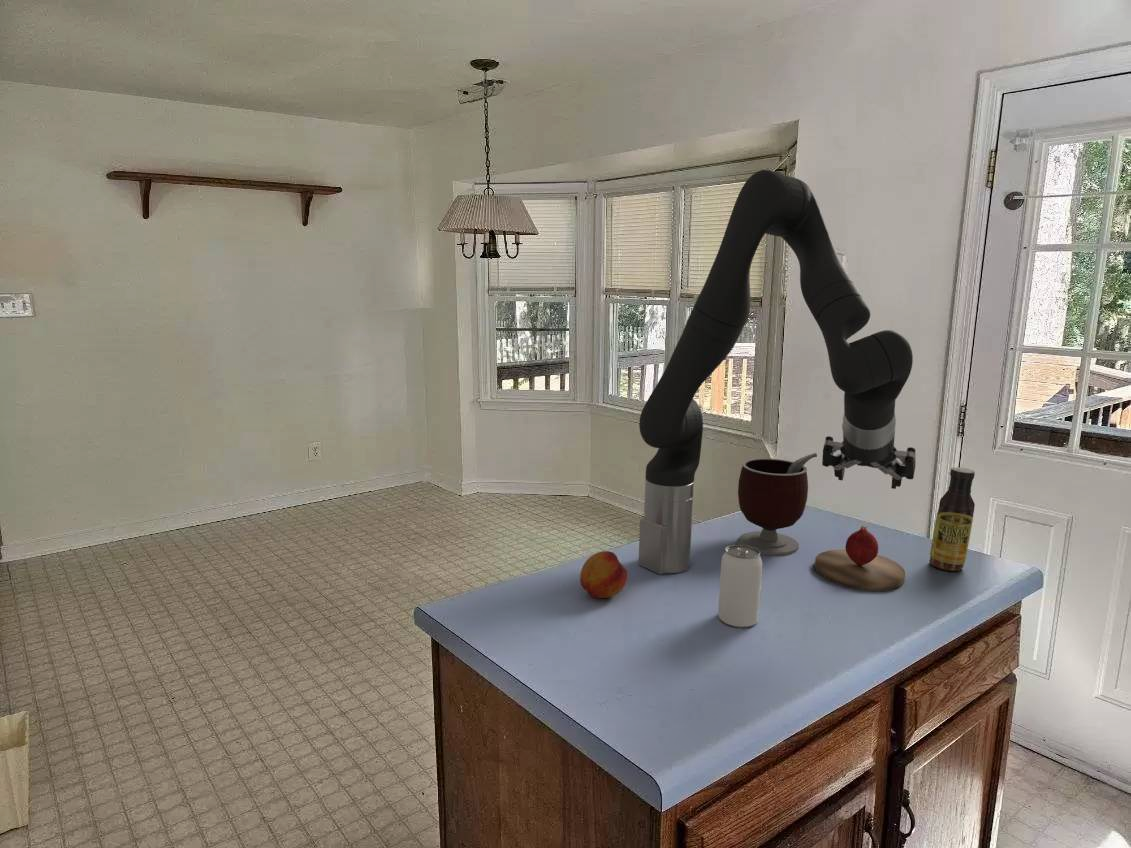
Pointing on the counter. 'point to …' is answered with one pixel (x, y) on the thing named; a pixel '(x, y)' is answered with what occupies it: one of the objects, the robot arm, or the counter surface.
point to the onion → (861, 547)
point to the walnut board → (859, 571)
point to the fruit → (603, 575)
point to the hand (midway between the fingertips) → (867, 479)
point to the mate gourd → (772, 501)
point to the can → (740, 586)
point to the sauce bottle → (953, 522)
